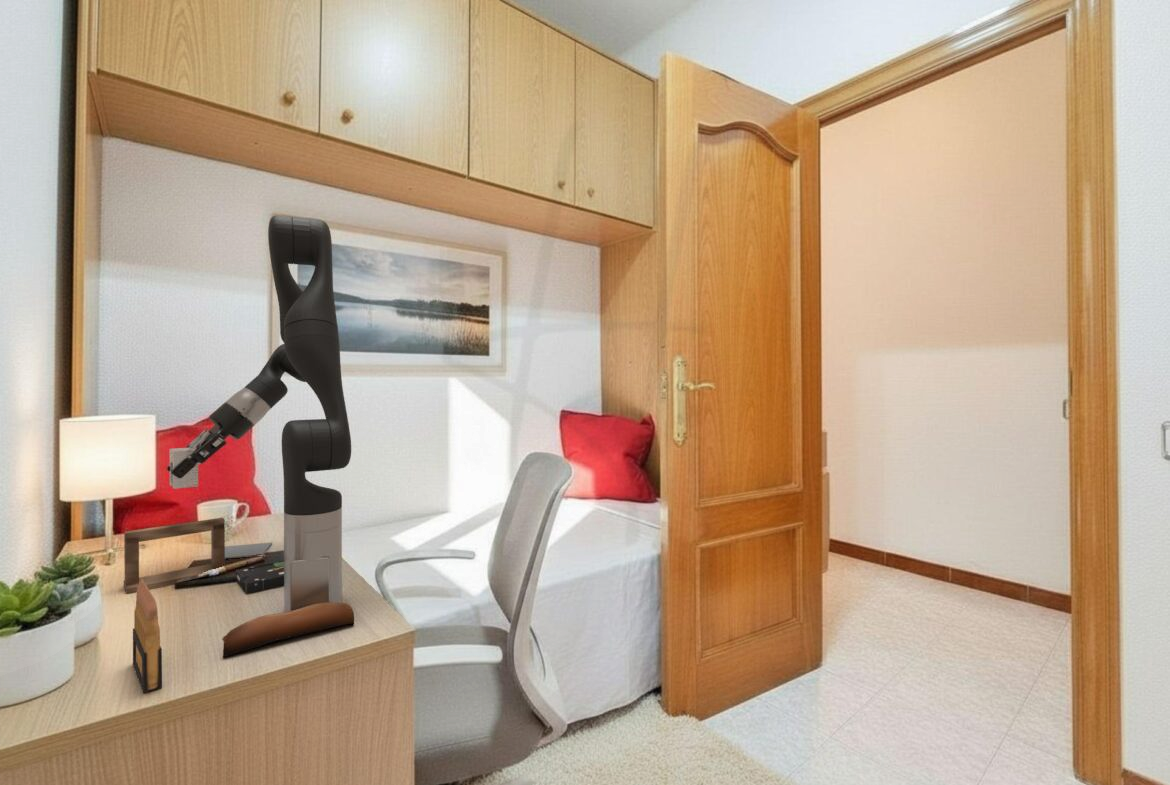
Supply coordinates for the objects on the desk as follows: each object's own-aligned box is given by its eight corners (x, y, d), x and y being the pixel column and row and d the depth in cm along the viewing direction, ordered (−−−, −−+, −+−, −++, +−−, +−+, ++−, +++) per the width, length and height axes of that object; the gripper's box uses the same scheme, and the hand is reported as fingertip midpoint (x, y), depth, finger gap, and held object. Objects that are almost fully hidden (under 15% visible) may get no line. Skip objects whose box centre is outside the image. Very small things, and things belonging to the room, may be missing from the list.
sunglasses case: (342, 608, 94) (347, 581, 91) (351, 641, 89) (356, 614, 86) (218, 637, 83) (219, 608, 80) (221, 677, 78) (222, 647, 75)
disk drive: (246, 598, 100) (329, 578, 110) (246, 583, 100) (329, 564, 110) (234, 583, 108) (313, 565, 118) (234, 569, 108) (313, 553, 118)
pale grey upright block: (193, 482, 113) (193, 447, 113) (198, 486, 110) (198, 449, 110) (169, 485, 111) (169, 448, 110) (173, 488, 107) (173, 451, 107)
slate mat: (262, 556, 123) (262, 554, 123) (211, 561, 120) (211, 558, 120) (272, 544, 132) (272, 542, 132) (225, 548, 129) (225, 546, 129)
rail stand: (220, 566, 116) (220, 516, 116) (226, 573, 112) (226, 520, 112) (123, 585, 105) (123, 529, 105) (126, 593, 101) (126, 535, 100)
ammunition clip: (162, 688, 69) (161, 596, 69) (143, 694, 68) (143, 600, 68) (149, 659, 77) (149, 575, 76) (132, 664, 75) (132, 579, 75)
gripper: (219, 400, 120) (151, 458, 112) (234, 402, 110) (161, 466, 102) (246, 422, 124) (182, 480, 116) (263, 426, 114) (195, 490, 106)
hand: (173, 473), depth 109 cm, fingers closed on pale grey upright block, 5 cm apart
